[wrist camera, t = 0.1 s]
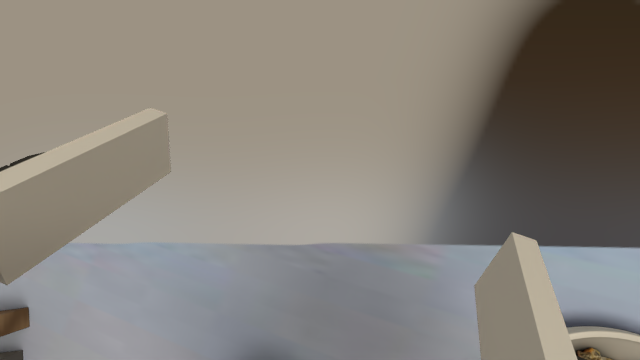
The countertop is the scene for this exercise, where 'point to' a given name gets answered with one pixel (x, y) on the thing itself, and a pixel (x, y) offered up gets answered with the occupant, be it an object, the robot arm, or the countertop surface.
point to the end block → (13, 320)
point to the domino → (12, 355)
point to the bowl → (604, 343)
